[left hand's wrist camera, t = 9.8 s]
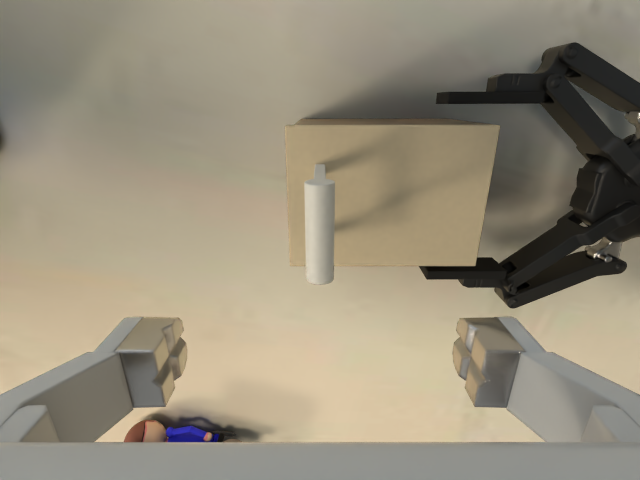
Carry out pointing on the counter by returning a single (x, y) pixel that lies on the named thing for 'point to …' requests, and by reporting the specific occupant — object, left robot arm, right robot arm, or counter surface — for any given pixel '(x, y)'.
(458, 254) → the lid
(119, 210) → the counter surface
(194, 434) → the figurine character
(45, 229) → the counter surface
